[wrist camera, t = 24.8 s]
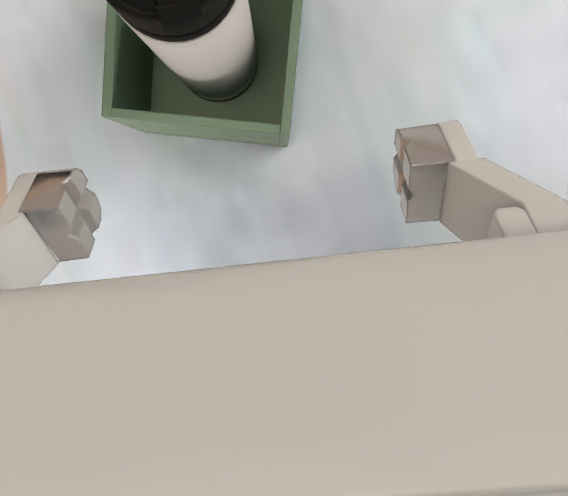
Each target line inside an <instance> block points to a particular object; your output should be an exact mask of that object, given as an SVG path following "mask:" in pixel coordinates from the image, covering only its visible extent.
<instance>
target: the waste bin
mask: <svg viewBox="0 0 568 496" xmlns="http://www.w3.org/2000/svg"><path fill="white" fill-rule="evenodd" d="M248 2H249V8H250V14H251V19H252V25H253V31H254V37H255V43H256V49H257V54H258V68H257V73H256V76H255V78H254V81H253V82H252V84H251V86H250V87H249V88H248V89H247V90H246V91H245V92H244V93H243V94H242V95H240V96H239V97H237V98H235V99H233V100H230V101H226V102H212V101H207V100H205V99H202V98H200V97H199V96H197V95H196V94H194V93H193V92H192V91H191V90H190V89H189V88H188V87H187V86H186V85H185V84H184V83H183V82H182V81H181V80H180V79H179V78H178V77H177V76H176V75H175V74H174V73H173V72H172V71H171V69H170V68H169V67H168V66H167V65H166V64H165V63H164V62H163V61H162V60H161V59H160V58H159V57H158V56H157V55H156V54H155V53H154V52H153V51H152V50H151V49H150V48H149V47H148V45H147V44H146V43H145V42H144V41H143V40H142V39H141V38H140V37H139V36H138V35H137V34H136V33H135V32H134V31H133V30H132V29H131V28H130V27H129V26H128V25H127V23H126V22H125V21H124V20H123V19H122V18H121V17H120V16H119V14H118V13H117V11H116V10H115V9H114V8H113V7H112V6H111V5H110V4H109V3H108V2H107V15H106V36H105V56H104V77H103V97H102V116H103V117H105V118H108V119H110V120H113V121H116V122H119V123H121V124H124V125H127V126H129V127H132V128H135V129H137V130H140V131H143V132H146V133H156V134H166V135H176V136H186V137H196V138H205V139H215V140H225V141H235V142H245V143H255V144H265V145H275V146H285V147H287V145H288V140H289V135H290V125H291V114H292V104H293V94H294V84H295V74H296V63H297V53H298V43H299V33H300V22H301V12H302V2H303V0H248Z"/></svg>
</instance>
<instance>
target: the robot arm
mask: <svg viewBox="0 0 568 496" xmlns="http://www.w3.org/2000/svg"><path fill="white" fill-rule="evenodd" d="M394 144H395V147H396V151H397V154H396V156H395V157H394V165H393V170H394V181H395V187H396V191H397V194H399V195H400V196H401V208H402V212H403V215H404V218H405V222H406V223H413V222H425V221H437V220H440V222H441V223H442V224H443V225H444V226H445V227H447V228H448V229H449V230H450V231H451V232H453V233H454V234H455V235H456V236H457V237H459V238H460V239H461V240H462V242H453V243H443V244H433V245H424V246H414V247H405V248H395V249H386V250H377V251H367V252H358V253H348V254H339V255H329V256H320V257H310V258H301V259H292V260H282V261H273V262H263V263H254V264H244V265H235V266H225V267H216V268H206V269H197V270H188V271H178V272H169V273H159V274H150V275H140V276H131V277H121V278H112V279H102V280H93V281H83V282H74V283H64V284H55V285H45V286H38V285H39V284H40V283H41V282H42V281H43V280H44V279H45V278H46V277H47V275H48V274H49V273H50V272H51V271H52V270H53V269H54V268H55V267H56V266H57V265H58V264H59V263H58V262H61V261H68V260H76V259H83V258H89V256H90V253H91V250H92V247H93V244H94V241H95V238H94V237H93V235H92V233H93V232H94V231H95V230H96V229H98V228H99V225H100V222H101V207H100V204H99V201H98V199H97V197H96V195H95V193H93V192H92V191H90V190H89V189H87V188H86V185H87V181H88V180H87V178H86V176H85V175H84V173H83V171H82V170H80V169H78V168H72V169H62V170H52V171H42V172H33V173H25V174H22V175H20V176H18V178H17V180H16V181H15V183H14V185H13V187H12V189H11V191H10V192H9V194H8V196H7V198H6V200H5V202H4V204H3V205H2V207H1V209H0V496H568V203H567V201H566V200H565V199H563V198H561V197H559V196H557V195H555V194H553V193H551V192H549V191H547V190H545V189H543V188H541V187H539V186H538V185H536V184H534V183H532V182H530V181H528V180H526V179H524V178H522V177H520V176H518V175H516V174H514V173H512V172H510V171H508V170H506V169H504V168H503V167H501V166H499V165H497V164H495V163H493V162H491V161H489V160H487V159H485V158H479V159H478V157H477V155H476V153H475V151H474V149H473V147H472V145H471V143H470V141H469V139H468V137H467V135H466V133H465V131H464V129H463V127H462V125H461V124H460V122H459V121H457V120H455V121H449V122H442V123H437V124H432V125H425V126H417V127H410V128H403V129H396V132H395V141H394Z"/></svg>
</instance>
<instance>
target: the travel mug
mask: <svg viewBox="0 0 568 496" xmlns="http://www.w3.org/2000/svg"><path fill="white" fill-rule="evenodd" d="M106 1H107V2H108V3H109V4H110V5H111V6H112V7H113V8H114V9H115V10H116V11H117V13H118V14H119V16H120V17H121V18H122V19H123V20H124V21H125V22H126V23H127V25H128V26H129V27H130V28H131V29H132V30H133V31H134V32H135V33H136V34H137V35H138V36H139V37H140V38H141V39H142V40H143V41H144V42H145V43H146V44H147V45H148V47H149V48H150V49H151V50H152V51H153V52H154V53H155V54H156V55H157V56H158V57H159V58H160V59H161V60H162V61H163V62H164V63H165V64H166V65H167V66H168V67H169V68H170V69H171V71H172V72H173V73H174V74H175V75H176V76H177V77H178V78H179V79H180V80H181V81H182V82H183V83H184V84H185V85H186V86H187V87H188V88H189V89H190V90H191V91H192V92H193V93H194V94H196V95H197V96H199V97H200V98H202V99H205V100H207V101H212V102H226V101H230V100H233V99H235V98H237V97H239V96H240V95H242V94H243V93H244V92H245V91H246V90H247V89H248V88H249V87H250V86H251V84H252V82H253V81H254V78H255V76H256V73H257V68H258V54H257V49H256V43H255V37H254V31H253V25H252V19H251V14H250V8H249V2H248V0H106Z"/></svg>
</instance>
